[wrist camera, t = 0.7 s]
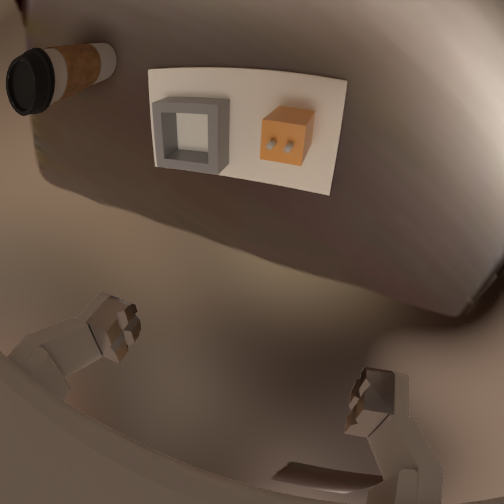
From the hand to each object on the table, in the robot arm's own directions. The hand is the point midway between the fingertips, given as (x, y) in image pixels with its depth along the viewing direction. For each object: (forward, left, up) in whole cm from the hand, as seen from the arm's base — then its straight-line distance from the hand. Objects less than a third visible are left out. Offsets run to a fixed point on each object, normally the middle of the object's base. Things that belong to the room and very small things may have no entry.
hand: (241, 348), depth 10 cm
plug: (+1, -3, -28) cm, 29 cm away
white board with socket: (+2, -10, -29) cm, 31 cm away
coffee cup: (-7, -31, -30) cm, 44 cm away
